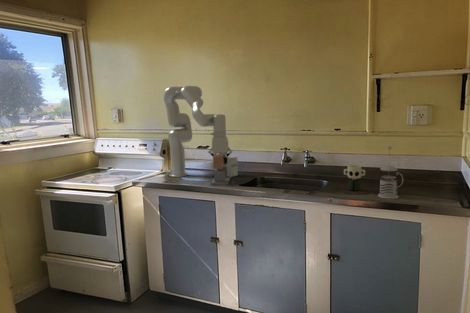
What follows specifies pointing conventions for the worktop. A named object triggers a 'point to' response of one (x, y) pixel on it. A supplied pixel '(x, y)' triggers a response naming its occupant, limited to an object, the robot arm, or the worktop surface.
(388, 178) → the french press
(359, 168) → the big eared toy figure
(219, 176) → the display stand
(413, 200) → the worktop surface
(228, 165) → the supplement box
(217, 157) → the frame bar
